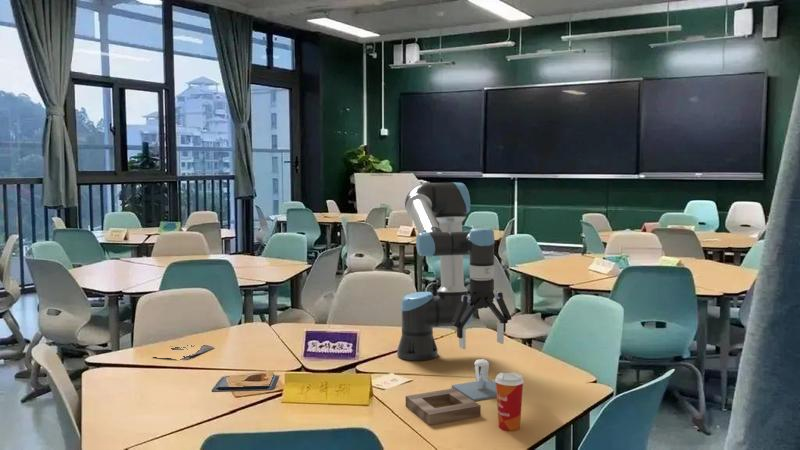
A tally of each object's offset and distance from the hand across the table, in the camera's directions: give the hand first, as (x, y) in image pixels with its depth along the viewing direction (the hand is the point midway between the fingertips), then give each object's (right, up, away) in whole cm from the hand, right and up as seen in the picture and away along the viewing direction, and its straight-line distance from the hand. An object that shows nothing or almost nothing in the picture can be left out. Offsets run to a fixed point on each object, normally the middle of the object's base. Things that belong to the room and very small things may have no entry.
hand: (481, 345), depth 199 cm
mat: (0, -14, +1) cm, 14 cm away
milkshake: (+1, -14, +1) cm, 14 cm away
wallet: (-76, -15, +11) cm, 78 cm away
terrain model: (-108, -13, +49) cm, 119 cm away
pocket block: (-13, -16, -16) cm, 26 cm away
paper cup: (+4, -17, -28) cm, 33 cm away
